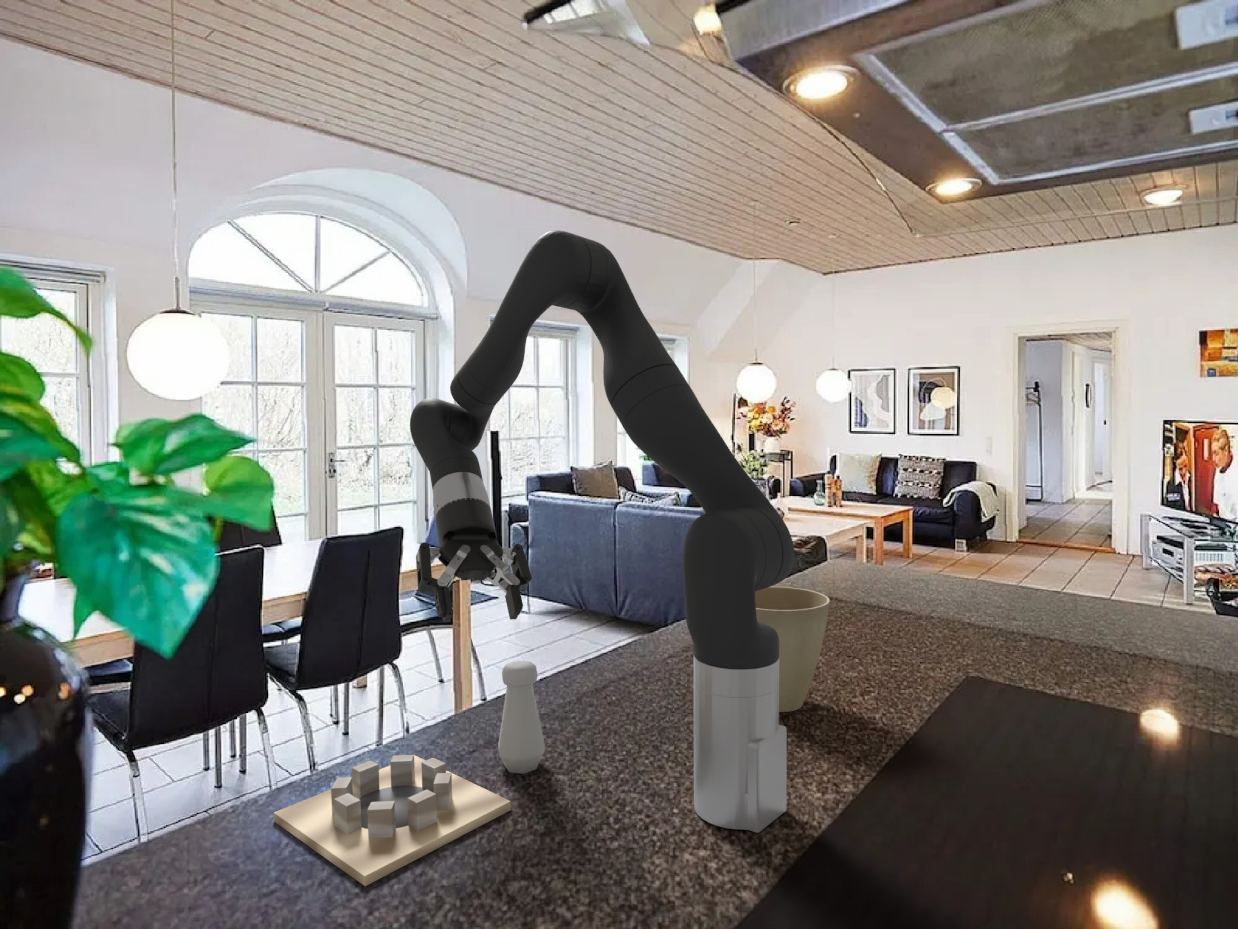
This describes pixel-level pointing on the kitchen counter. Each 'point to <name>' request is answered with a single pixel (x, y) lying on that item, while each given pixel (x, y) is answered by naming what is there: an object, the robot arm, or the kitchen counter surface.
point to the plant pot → (794, 637)
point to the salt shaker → (520, 719)
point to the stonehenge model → (390, 815)
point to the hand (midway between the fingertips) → (482, 617)
